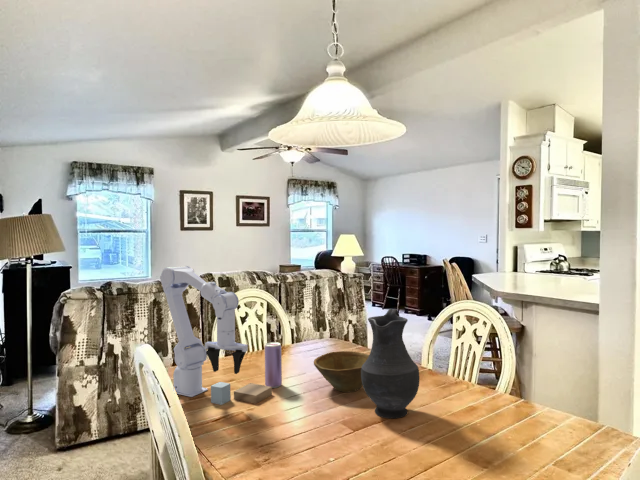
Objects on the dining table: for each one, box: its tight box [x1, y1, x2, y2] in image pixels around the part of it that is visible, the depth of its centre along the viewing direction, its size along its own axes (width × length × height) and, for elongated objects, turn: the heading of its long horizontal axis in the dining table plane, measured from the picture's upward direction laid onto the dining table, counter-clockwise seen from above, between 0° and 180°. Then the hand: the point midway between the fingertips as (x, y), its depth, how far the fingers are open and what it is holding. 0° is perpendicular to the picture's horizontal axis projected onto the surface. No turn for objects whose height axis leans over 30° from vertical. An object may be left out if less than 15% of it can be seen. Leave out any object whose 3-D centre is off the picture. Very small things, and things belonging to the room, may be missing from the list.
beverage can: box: [264, 341, 283, 389], centre depth 157 cm, size 6×6×15 cm
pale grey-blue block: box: [210, 381, 232, 406], centre depth 142 cm, size 4×4×6 cm
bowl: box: [313, 350, 370, 393], centre depth 154 cm, size 22×23×10 cm
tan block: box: [233, 382, 273, 404], centre depth 146 cm, size 9×9×3 cm
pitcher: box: [361, 308, 420, 419], centre depth 133 cm, size 17×21×30 cm
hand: (226, 371), depth 142 cm, fingers open, 7 cm apart
